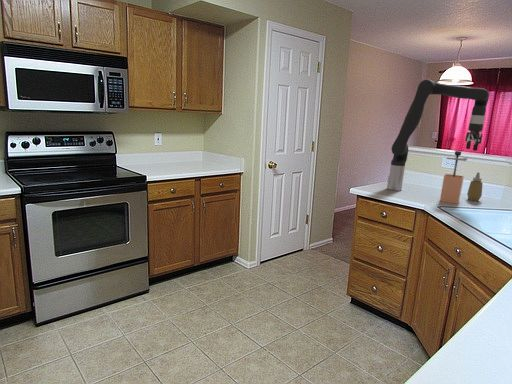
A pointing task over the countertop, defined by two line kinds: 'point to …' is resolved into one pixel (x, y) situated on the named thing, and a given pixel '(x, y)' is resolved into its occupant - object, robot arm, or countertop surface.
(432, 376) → the countertop surface
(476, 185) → the squeeze bottle
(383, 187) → the countertop surface
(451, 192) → the open tunnel frame
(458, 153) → the drawer with knob
